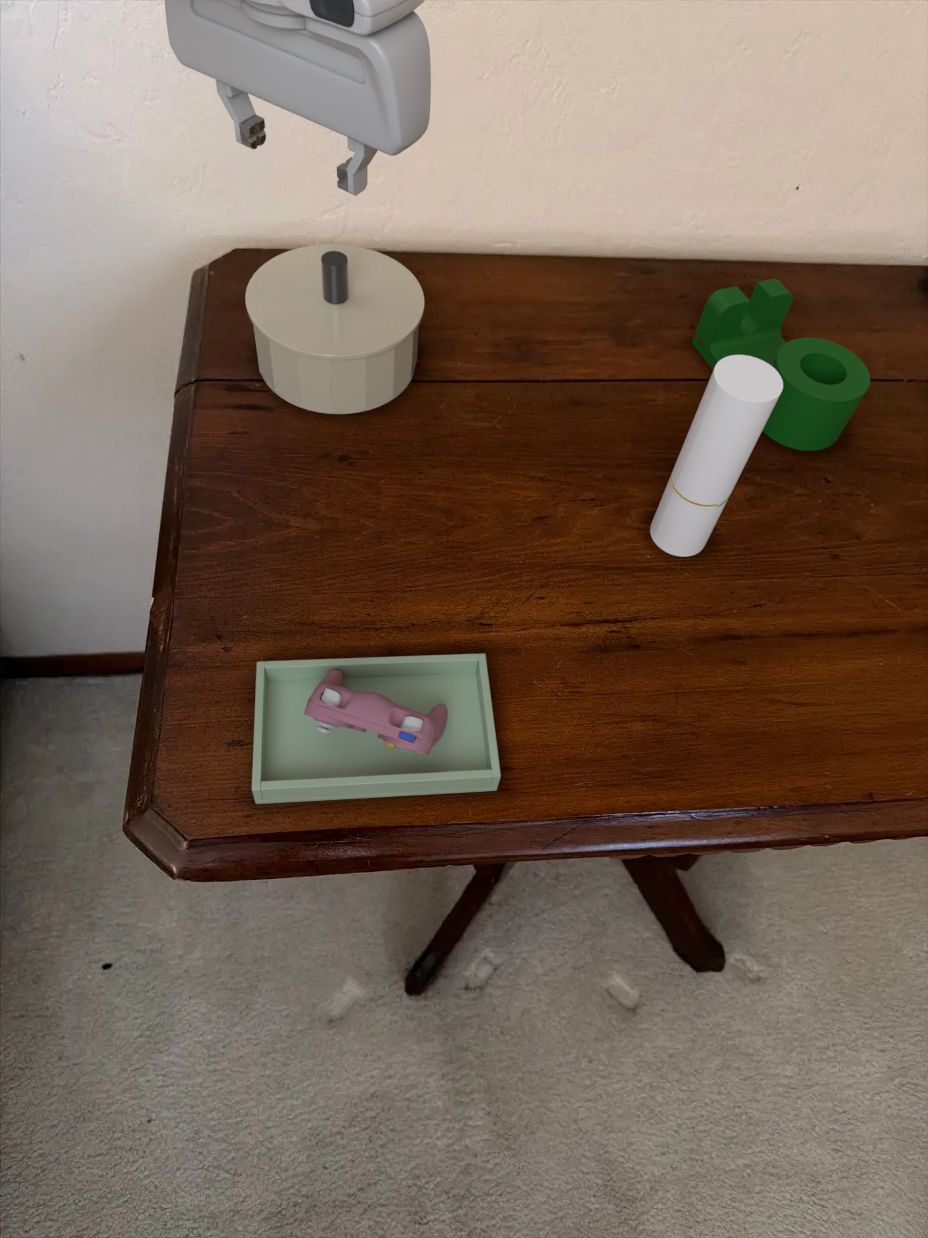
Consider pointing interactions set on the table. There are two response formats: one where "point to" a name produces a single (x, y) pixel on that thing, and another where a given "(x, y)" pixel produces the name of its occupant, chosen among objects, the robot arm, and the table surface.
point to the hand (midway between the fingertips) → (301, 165)
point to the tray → (360, 761)
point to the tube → (715, 452)
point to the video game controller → (375, 715)
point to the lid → (334, 301)
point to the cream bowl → (337, 377)
